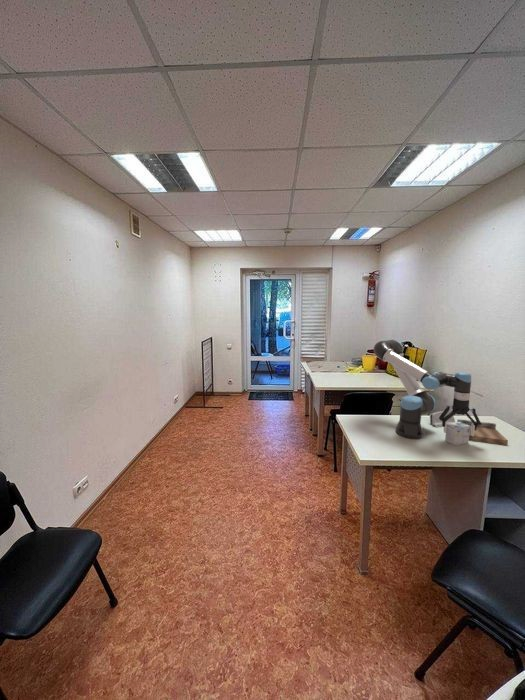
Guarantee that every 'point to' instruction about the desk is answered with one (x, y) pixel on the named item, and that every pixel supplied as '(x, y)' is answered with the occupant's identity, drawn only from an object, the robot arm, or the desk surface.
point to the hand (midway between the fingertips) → (458, 433)
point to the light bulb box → (457, 433)
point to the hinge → (436, 421)
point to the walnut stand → (485, 433)
